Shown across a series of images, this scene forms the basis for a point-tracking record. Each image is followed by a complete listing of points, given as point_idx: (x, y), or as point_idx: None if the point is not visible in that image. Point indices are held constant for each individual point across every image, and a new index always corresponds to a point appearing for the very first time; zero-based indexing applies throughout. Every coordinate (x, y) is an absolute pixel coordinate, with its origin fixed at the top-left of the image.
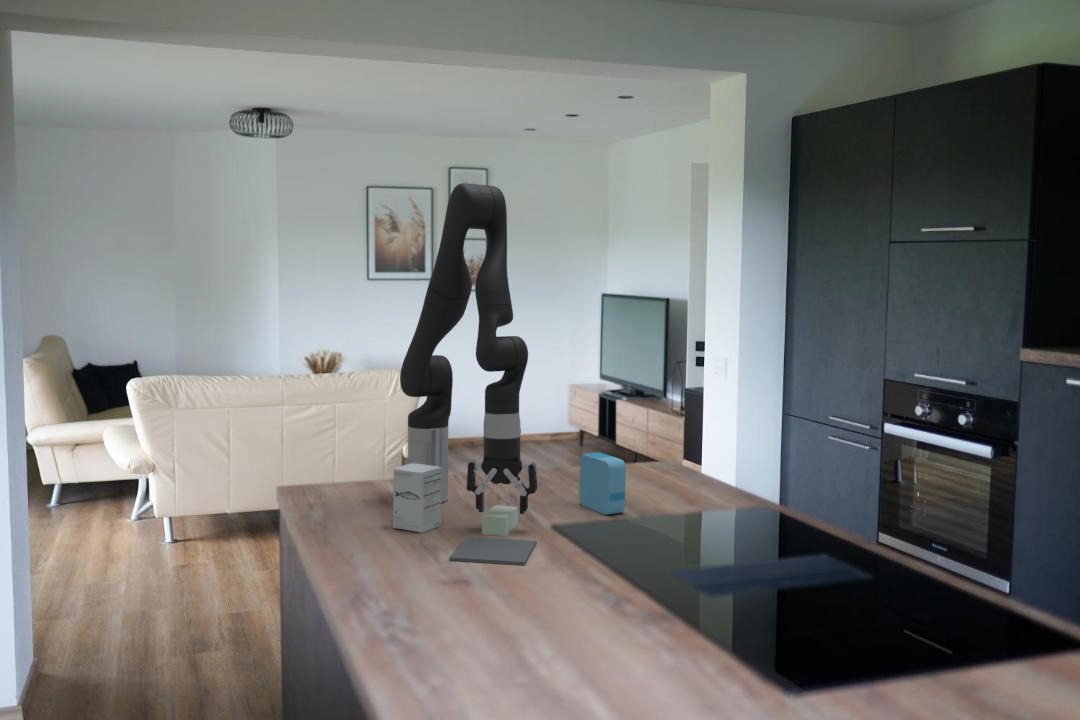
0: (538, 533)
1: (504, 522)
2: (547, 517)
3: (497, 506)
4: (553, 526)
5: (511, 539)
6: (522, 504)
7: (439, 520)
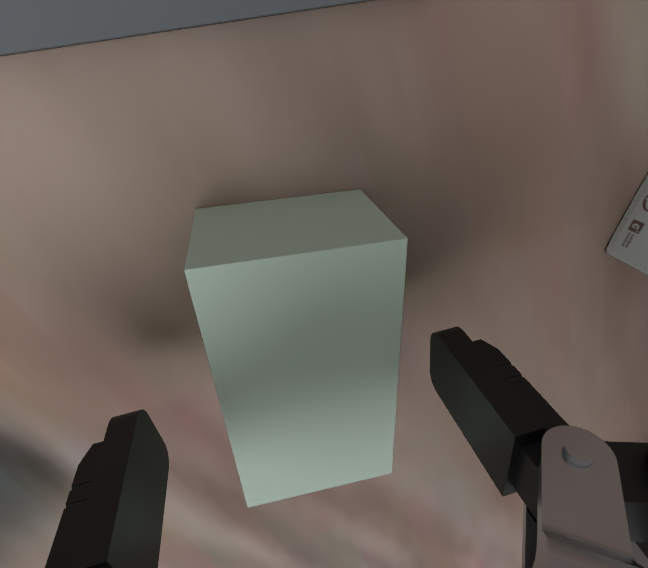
0: (32, 343)
1: (203, 248)
2: (171, 541)
3: (369, 464)
4: (52, 472)
5: (39, 45)
6: (95, 485)
7: (636, 251)
